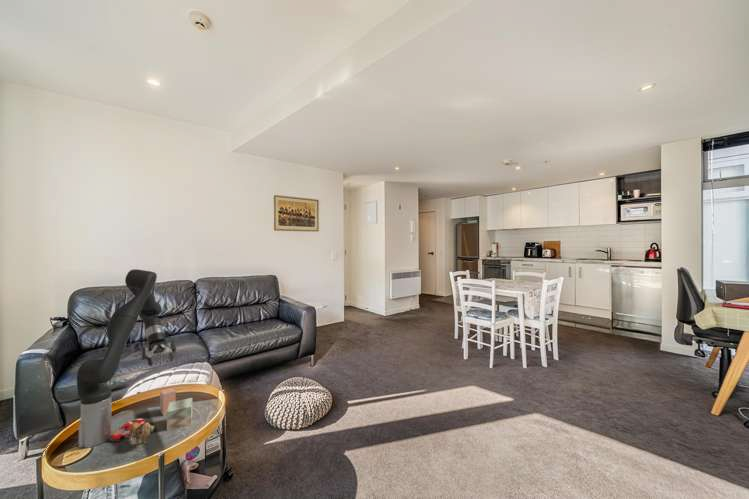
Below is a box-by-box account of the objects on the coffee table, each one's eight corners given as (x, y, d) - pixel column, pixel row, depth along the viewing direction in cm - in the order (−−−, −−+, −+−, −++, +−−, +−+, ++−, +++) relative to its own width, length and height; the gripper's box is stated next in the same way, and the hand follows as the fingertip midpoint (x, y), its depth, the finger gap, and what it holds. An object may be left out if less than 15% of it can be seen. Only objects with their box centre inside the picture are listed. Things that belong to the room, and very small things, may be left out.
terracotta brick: (163, 415, 140) (163, 394, 139) (160, 411, 143) (160, 391, 143) (175, 411, 143) (175, 390, 143) (172, 407, 147) (172, 387, 146)
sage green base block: (166, 430, 128) (166, 411, 128) (169, 419, 136) (169, 402, 136) (191, 424, 133) (191, 406, 133) (192, 414, 141) (192, 397, 141)
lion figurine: (156, 442, 120) (156, 420, 120) (141, 451, 115) (141, 428, 115) (134, 433, 126) (134, 412, 126) (119, 441, 121) (119, 419, 121)
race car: (116, 444, 119) (116, 434, 119) (106, 442, 121) (106, 432, 121) (148, 425, 132) (148, 416, 132) (138, 423, 134) (138, 414, 134)
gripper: (139, 335, 151) (145, 363, 143) (172, 328, 161) (179, 355, 154) (137, 342, 154) (143, 370, 147) (169, 336, 165) (176, 362, 158)
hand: (161, 362), depth 151 cm, fingers open, 8 cm apart
